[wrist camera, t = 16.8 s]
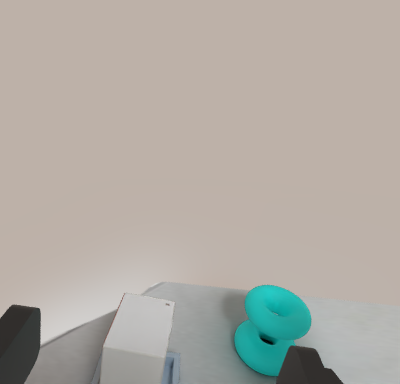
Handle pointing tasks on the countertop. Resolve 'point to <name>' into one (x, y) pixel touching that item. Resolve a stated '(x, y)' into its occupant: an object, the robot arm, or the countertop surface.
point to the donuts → (270, 327)
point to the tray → (169, 374)
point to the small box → (137, 341)
